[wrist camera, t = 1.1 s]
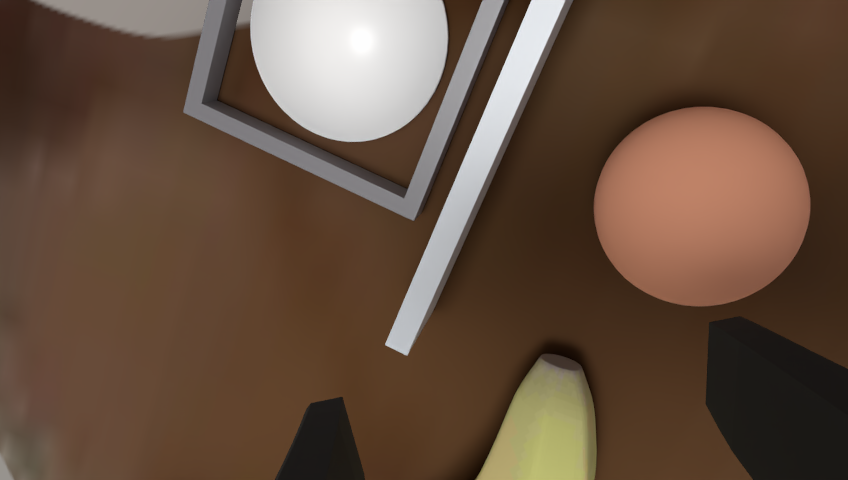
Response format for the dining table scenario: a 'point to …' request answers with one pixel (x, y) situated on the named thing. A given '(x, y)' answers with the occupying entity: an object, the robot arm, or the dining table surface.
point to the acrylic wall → (479, 166)
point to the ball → (702, 206)
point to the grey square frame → (345, 81)
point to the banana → (547, 427)
